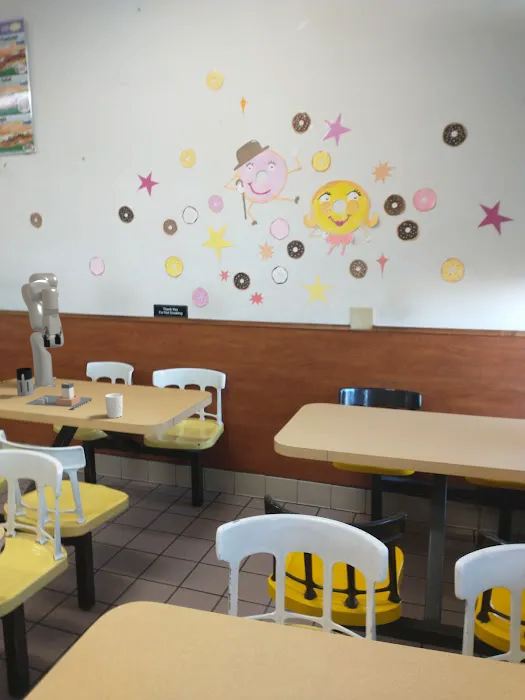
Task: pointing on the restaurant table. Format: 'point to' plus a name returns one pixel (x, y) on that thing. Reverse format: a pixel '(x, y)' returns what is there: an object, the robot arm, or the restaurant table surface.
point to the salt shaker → (67, 390)
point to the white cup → (114, 405)
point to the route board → (60, 401)
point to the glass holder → (24, 382)
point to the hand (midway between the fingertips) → (52, 345)
